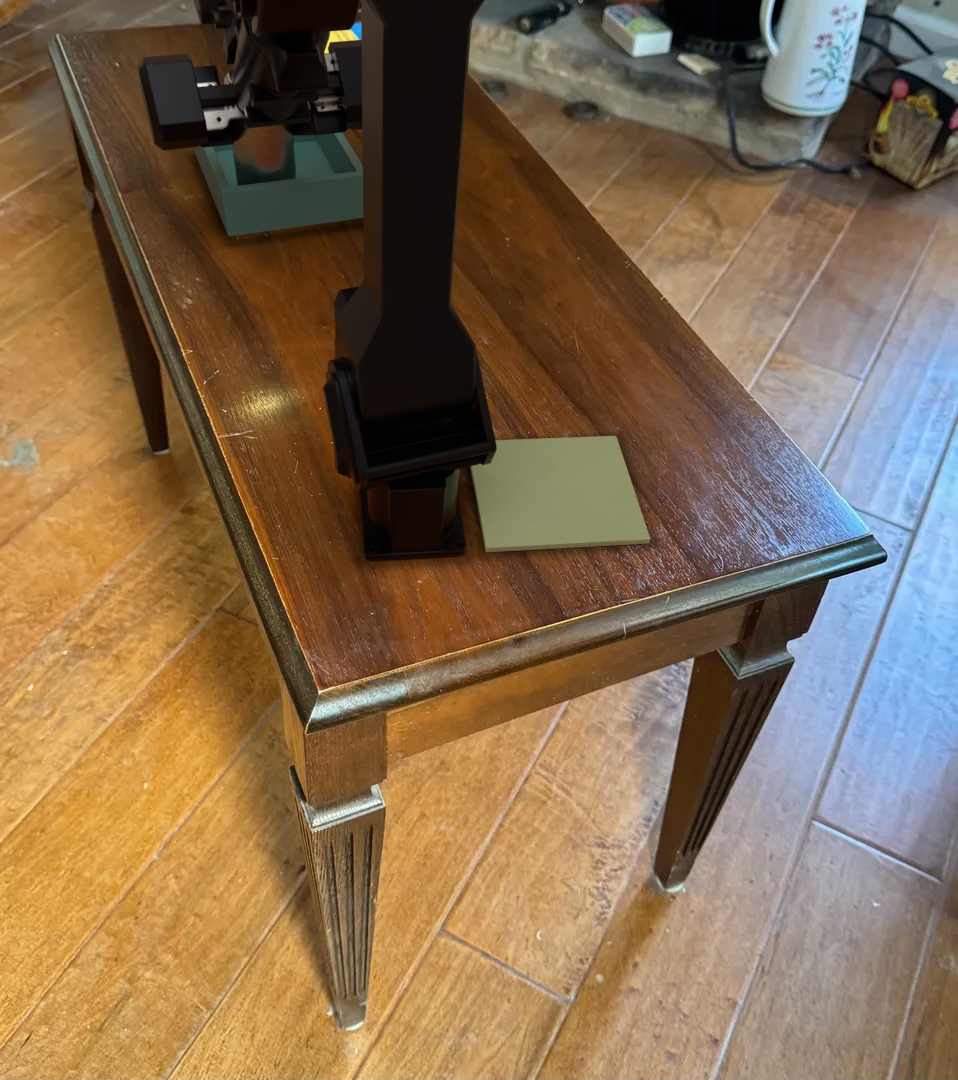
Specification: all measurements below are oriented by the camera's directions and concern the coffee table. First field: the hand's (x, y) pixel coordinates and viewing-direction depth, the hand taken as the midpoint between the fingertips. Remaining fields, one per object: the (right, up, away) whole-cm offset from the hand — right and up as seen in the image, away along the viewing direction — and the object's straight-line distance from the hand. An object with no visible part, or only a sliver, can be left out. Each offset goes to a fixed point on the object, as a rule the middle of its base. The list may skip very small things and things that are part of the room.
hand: (259, 132), depth 81 cm
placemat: (+24, -32, -16) cm, 43 cm away
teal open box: (0, -2, +7) cm, 7 cm away
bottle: (0, -5, +4) cm, 6 cm away
